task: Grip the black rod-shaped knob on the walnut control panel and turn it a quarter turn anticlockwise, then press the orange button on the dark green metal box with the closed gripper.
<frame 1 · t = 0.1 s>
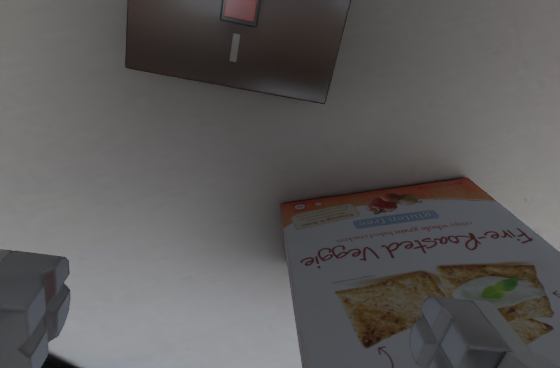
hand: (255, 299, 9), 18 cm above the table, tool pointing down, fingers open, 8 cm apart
cracker box: (371, 217, 30), on the table
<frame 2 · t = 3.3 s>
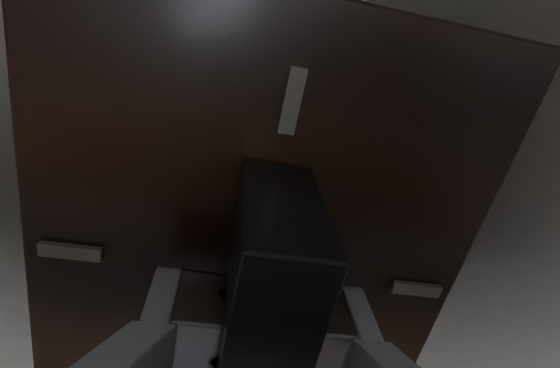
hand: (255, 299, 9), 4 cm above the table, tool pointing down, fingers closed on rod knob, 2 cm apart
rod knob: (257, 327, 8), point 5 cm above the table, hinge at 0.0°, touching gripper
panel: (252, 211, 13), on the table
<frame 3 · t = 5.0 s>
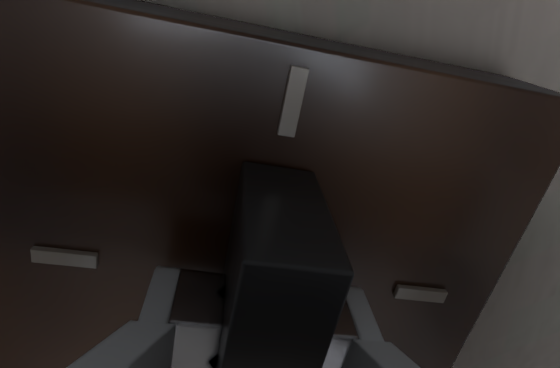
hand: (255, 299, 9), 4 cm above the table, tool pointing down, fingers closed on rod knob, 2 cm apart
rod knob: (258, 335, 8), point 5 cm above the table, hinge at 89.8°, touching gripper
panel: (252, 213, 12), on the table
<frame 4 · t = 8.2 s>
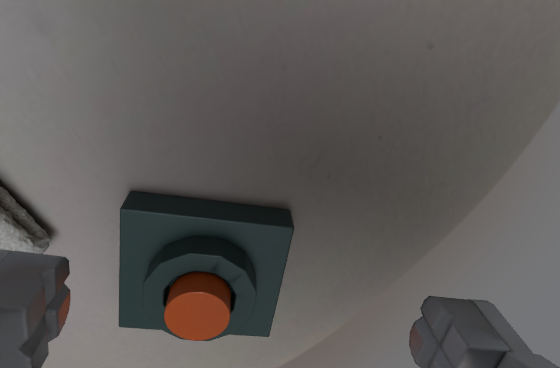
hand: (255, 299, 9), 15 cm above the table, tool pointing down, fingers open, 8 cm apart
button: (198, 306, 22), point 4 cm above the table, slide at 0.1 cm
button box: (205, 258, 26), on the table
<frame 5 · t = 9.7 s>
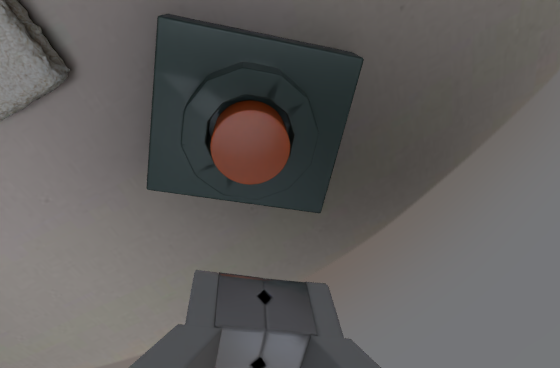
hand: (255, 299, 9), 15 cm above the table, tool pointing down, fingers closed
button: (250, 142, 18), point 4 cm above the table, slide at 0.1 cm
button box: (249, 115, 22), on the table
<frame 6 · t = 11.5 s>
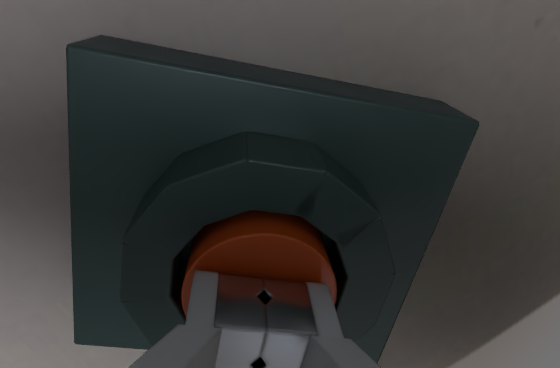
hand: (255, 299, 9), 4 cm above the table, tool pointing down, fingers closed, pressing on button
button: (259, 275, 10), point 4 cm above the table, slide at -0.8 cm, touching gripper
button box: (255, 206, 13), on the table
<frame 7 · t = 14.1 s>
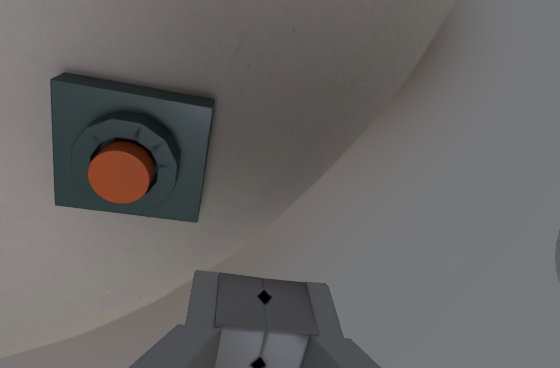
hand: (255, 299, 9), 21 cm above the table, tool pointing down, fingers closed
button: (122, 172, 25), point 4 cm above the table, slide at 0.1 cm
button box: (138, 146, 29), on the table
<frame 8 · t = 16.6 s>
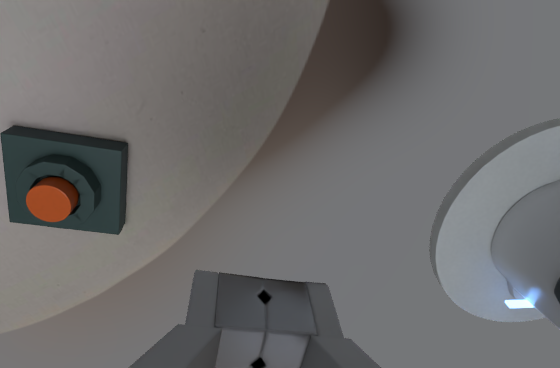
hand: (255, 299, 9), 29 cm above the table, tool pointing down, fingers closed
button: (53, 199, 34), point 4 cm above the table, slide at 0.1 cm
button box: (73, 177, 38), on the table
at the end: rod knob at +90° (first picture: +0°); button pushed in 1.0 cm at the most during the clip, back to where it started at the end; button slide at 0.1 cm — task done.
